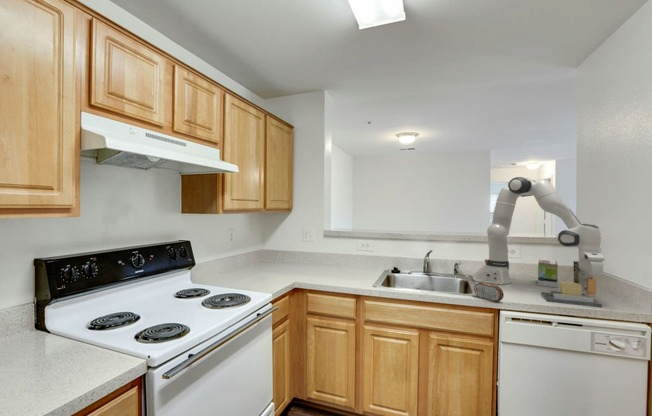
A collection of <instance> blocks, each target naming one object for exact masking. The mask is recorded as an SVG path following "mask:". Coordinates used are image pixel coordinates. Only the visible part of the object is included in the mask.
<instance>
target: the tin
mask: <svg viewBox="0 0 652 416" xmlns="http://www.w3.org/2000/svg"><path fill="white" fill-rule="evenodd" d="M502 289H503V288H501V287H499V286H498V284H493V283H485V282H477V283H475V284H474V290H473V291H474V293H475V295H476V296H477V297H478V298H480V299H484V300H487V301H490V302H494V303H495V302H500V301H502V300H503V299H504V291H503V290H502Z"/></svg>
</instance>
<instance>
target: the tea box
mask: <svg viewBox="0 0 652 416" xmlns="http://www.w3.org/2000/svg"><path fill="white" fill-rule="evenodd" d="M537 266H538V267H537V286H540V287H548V288H554V289H555V288H558V280H559V279H558V274H559V273H558V272H559V271H558V269H559V267H558V266H559V265H558V261H557V260H546V259H544V260H543V259H538V265H537Z"/></svg>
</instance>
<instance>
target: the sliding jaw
mask: <svg viewBox="0 0 652 416" xmlns="http://www.w3.org/2000/svg"><path fill="white" fill-rule="evenodd" d="M596 281H597V279H595V278H594V277H593V278H586V291H585V292H581V295H582V296H592V297H593V298H594V299H595V300H596V299H597V296H596V295H597V293H596V292H597V289H596V288H597V285H596ZM548 291H549V292H548V293H549V294H550V295H553V293H559V294H560V290H556V289H555V290H554V289H549V290H548Z"/></svg>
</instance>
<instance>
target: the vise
mask: <svg viewBox="0 0 652 416" xmlns="http://www.w3.org/2000/svg"><path fill="white" fill-rule="evenodd" d="M540 295H541V296H542V297H543V298H544V300H546V302H548V303H558V304H568V305H577V306H585V307H586V306H587V307H594V308H595V307H597V308H603V304H602V303H601V302H600V301H598V300H596V299H594V298H593V297H592V296H581V295H570V294H559V293H553V295H550V294H549V292H546V291H541V292H540Z"/></svg>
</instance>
